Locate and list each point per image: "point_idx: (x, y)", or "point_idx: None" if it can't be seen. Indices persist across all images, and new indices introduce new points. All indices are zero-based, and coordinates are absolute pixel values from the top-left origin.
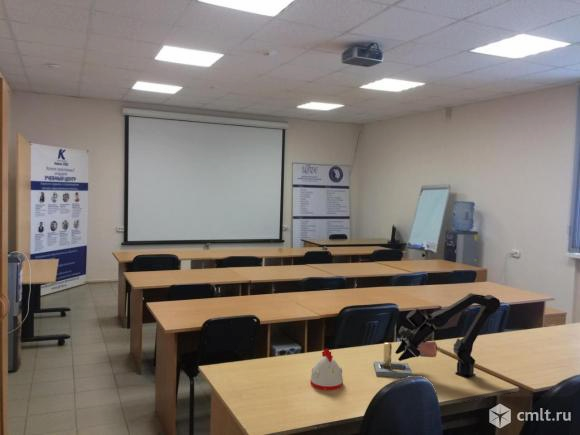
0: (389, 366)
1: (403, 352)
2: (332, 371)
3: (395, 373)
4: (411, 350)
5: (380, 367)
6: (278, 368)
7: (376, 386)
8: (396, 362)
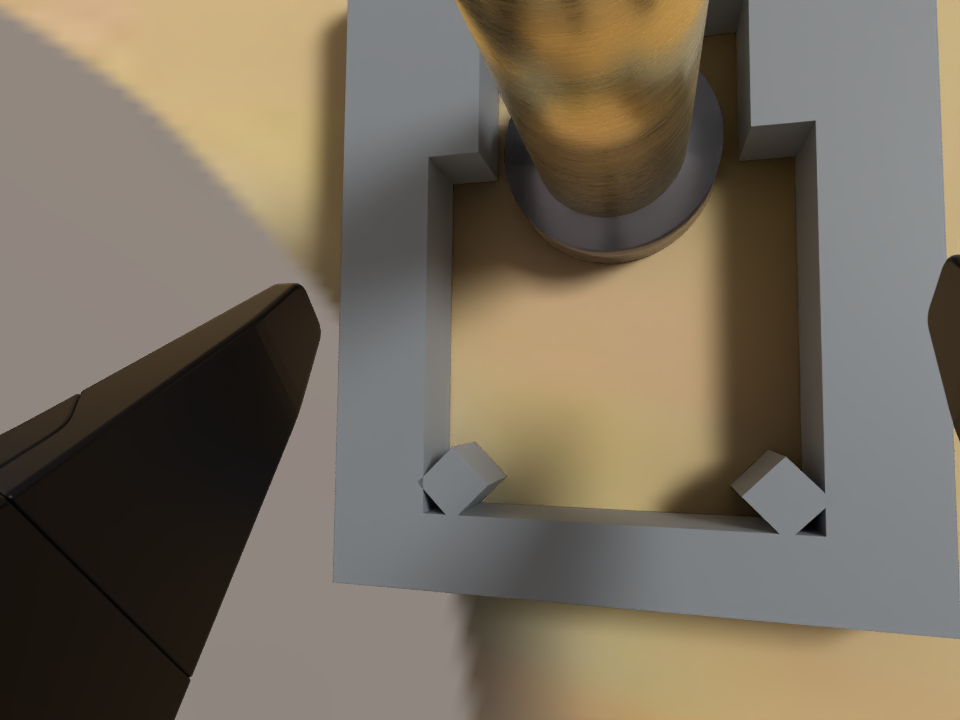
0: (534, 163)
1: (73, 431)
2: None
3: (349, 276)
4: None
5: None
6: None
7: (55, 17)
8: None
